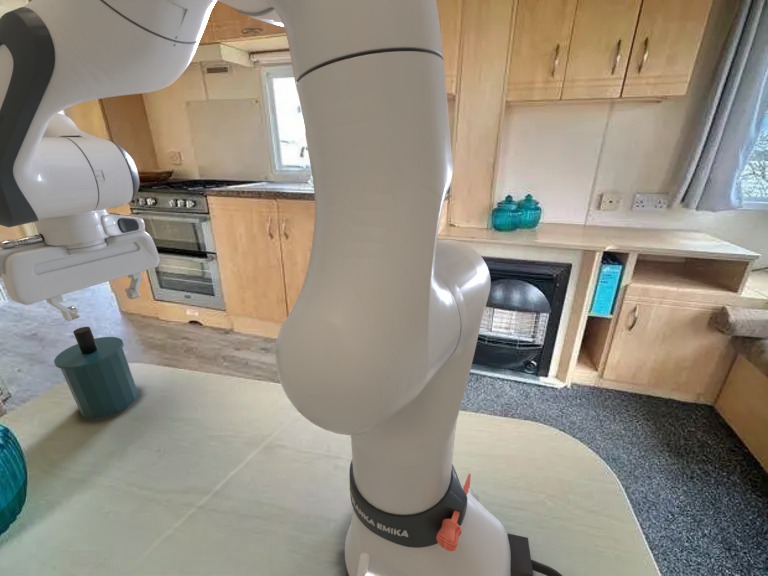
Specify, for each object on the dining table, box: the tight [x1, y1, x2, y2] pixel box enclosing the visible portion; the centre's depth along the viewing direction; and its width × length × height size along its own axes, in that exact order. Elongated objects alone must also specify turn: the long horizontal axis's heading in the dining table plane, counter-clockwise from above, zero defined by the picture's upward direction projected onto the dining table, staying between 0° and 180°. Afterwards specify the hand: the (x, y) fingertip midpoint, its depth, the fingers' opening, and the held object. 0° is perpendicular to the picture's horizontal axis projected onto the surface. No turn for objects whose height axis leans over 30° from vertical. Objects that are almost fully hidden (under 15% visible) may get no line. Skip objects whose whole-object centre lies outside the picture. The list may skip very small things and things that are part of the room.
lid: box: [53, 326, 125, 370], centre depth 65 cm, size 10×10×6 cm
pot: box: [60, 347, 139, 419], centre depth 68 cm, size 9×9×12 cm
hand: (105, 307), depth 60 cm, fingers open, 8 cm apart
